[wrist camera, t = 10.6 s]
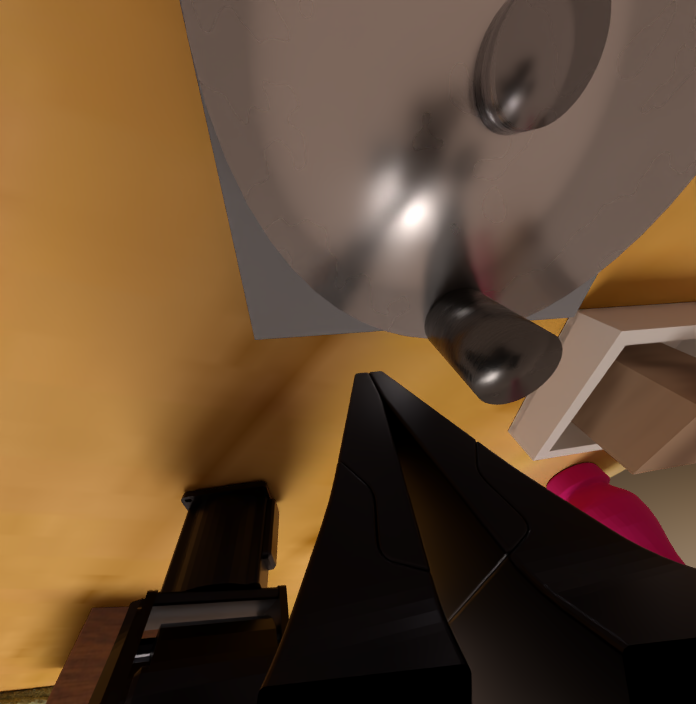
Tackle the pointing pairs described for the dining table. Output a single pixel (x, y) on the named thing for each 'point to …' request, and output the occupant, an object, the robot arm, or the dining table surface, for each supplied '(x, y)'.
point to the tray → (593, 370)
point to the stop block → (644, 409)
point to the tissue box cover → (90, 656)
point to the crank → (453, 154)
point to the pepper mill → (612, 507)
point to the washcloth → (26, 696)
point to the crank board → (287, 286)
